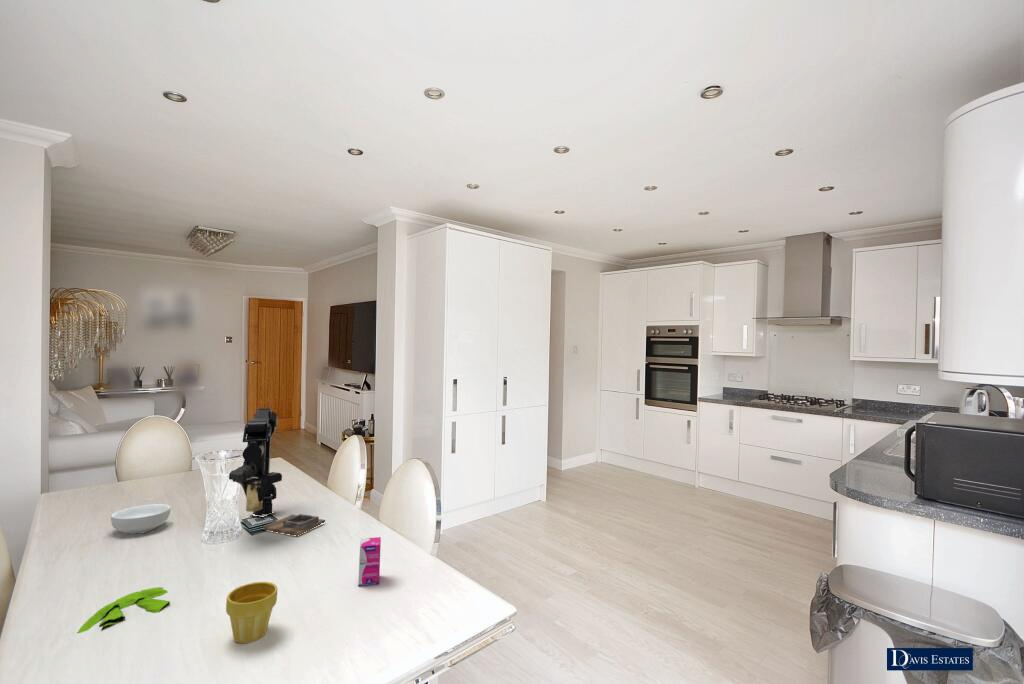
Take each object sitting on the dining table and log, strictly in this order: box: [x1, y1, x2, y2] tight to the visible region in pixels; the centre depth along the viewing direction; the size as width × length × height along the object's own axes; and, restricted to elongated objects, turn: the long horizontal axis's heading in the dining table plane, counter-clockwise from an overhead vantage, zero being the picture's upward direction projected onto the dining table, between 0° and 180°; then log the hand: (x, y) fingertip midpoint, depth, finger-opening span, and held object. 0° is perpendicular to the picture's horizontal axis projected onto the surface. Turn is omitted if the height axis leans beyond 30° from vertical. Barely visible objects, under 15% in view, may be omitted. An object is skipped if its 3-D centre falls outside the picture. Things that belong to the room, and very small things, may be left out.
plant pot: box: [225, 581, 278, 644], centre depth 106 cm, size 10×10×10 cm
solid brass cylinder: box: [245, 482, 263, 513], centre depth 162 cm, size 5×5×9 cm
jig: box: [262, 513, 326, 536], centre depth 172 cm, size 16×14×4 cm
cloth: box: [76, 586, 171, 634], centre depth 115 cm, size 20×22×2 cm
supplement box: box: [357, 536, 382, 587], centre depth 133 cm, size 6×6×12 cm
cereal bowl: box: [110, 503, 171, 535], centre depth 167 cm, size 17×17×7 cm
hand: (254, 500), depth 162 cm, fingers closed on solid brass cylinder, 5 cm apart
